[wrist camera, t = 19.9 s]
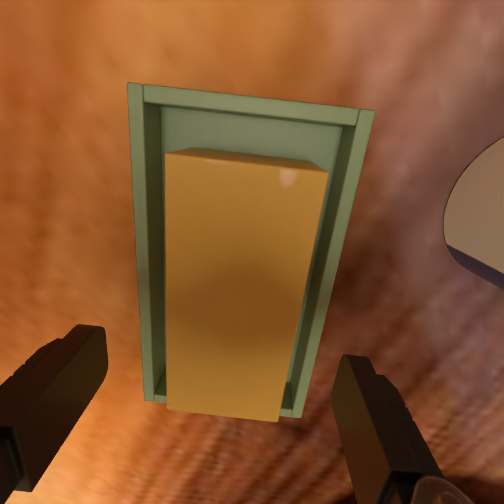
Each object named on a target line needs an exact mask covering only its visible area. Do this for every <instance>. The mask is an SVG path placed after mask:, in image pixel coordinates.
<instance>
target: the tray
mask: <svg viewBox="0 0 504 504" xmlns="http://www.w3.org/2000/svg"><path fill="white" fill-rule="evenodd" d="M127 94H128V113H129V131H130V149H131V168H132V186H133V204H134V223H135V241H136V259H137V278H138V296H139V315H140V333H141V351H142V370H143V388H144V401H151V402H154V401H155V402H159V403H167V386H166V249H165V153H168V152H173V151H178V150H183V149H187V148H192V147H196V148H204V149H213V150H221V151H230V152H238V153H247V154H255V155H264V156H272V157H281V158H289V159H298V160H306V161H311V162H313V163H314V164H316V165H318V166H319V167H321V168H322V169H324V170H326V171H327V172H329V176H328V181H327V186H326V191H325V196H324V201H323V205H322V210H321V215H320V220H319V225H318V230H317V235H316V239H315V244H314V249H313V254H312V259H311V264H310V269H309V273H308V278H307V283H306V288H305V293H304V298H303V302H302V307H301V312H300V317H299V322H298V327H297V332H296V336H295V341H294V346H293V351H292V356H291V361H290V366H289V370H288V375H287V380H286V385H285V390H284V395H283V399H282V404H281V409H280V414H279V416H286V417H295V418H301V416H302V412H303V408H304V404H305V400H306V396H307V391H308V387H309V383H310V379H311V375H312V371H313V367H314V363H315V359H316V354H317V350H318V346H319V342H320V338H321V334H322V330H323V326H324V321H325V317H326V313H327V309H328V305H329V301H330V297H331V293H332V288H333V284H334V280H335V276H336V272H337V268H338V264H339V260H340V256H341V251H342V247H343V243H344V239H345V235H346V231H347V227H348V223H349V218H350V214H351V210H352V206H353V202H354V198H355V194H356V190H357V186H358V181H359V177H360V173H361V169H362V165H363V161H364V157H365V153H366V148H367V144H368V140H369V136H370V132H371V128H372V124H373V120H374V116H375V111H374V110H368V109H358V108H351V107H342V106H333V105H324V104H315V103H307V102H298V101H289V100H280V99H271V98H263V97H254V96H245V95H236V94H227V93H219V92H210V91H201V90H192V89H183V88H175V87H166V86H157V85H148V84H144V85H143V84H140V83H131V82H128V83H127Z"/></svg>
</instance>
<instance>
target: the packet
mask: <svg viewBox="0 0 504 504" xmlns="http://www.w3.org/2000/svg"><path fill="white" fill-rule="evenodd" d="M328 176H329V172H327V171H326V170H324V169H322V168H321V167H319V166H318V165H316V164H314V163H313V162H311V161H306V160H298V159H289V158H281V157H272V156H264V155H255V154H247V153H238V152H230V151H221V150H213V149H204V148H196V147H192V148H187V149H183V150H178V151H173V152H168V153H165V249H166V386H167V410H174V411H183V412H192V413H200V414H209V415H218V416H227V417H236V418H245V419H253V420H262V421H271V422H278V419H279V414H280V409H281V404H282V399H283V395H284V390H285V385H286V380H287V375H288V370H289V366H290V361H291V356H292V351H293V346H294V341H295V336H296V332H297V327H298V322H299V317H300V312H301V307H302V302H303V298H304V293H305V288H306V283H307V278H308V273H309V269H310V264H311V259H312V254H313V249H314V244H315V239H316V235H317V230H318V225H319V220H320V215H321V210H322V205H323V201H324V196H325V191H326V186H327V181H328Z"/></svg>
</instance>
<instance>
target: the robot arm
mask: <svg viewBox="0 0 504 504" xmlns="http://www.w3.org/2000/svg"><path fill="white" fill-rule="evenodd" d="M107 370H108V354H107V344H106V334H105V329H104V328H103V327H101V326H92V325H83V324H78V325H76V326H75V327H74V328H73V329H72V330H71V331H70V332H69V333H68V334H67V335H66V336H65V337H64V338H63V339H60V338H57V339H55V340H53V341H52V342H50V343H48V344H46V345H45V346H43V347H41V348H39V349H38V350H37V351H36V352H35V353H34V354H33V355H32V356H31V357H30V358H29V359H28V360H27V361H26V362H25V364H23V365H22V366H20V367H19V368H18V369H17V370H16V371H15V372H14V375H13V376H10V377H9V378H8V379H7V380H6V381H5V382H4V383H3V384H2V385H1V386H0V504H5V502H6V501H7V499H8V498H9V496H10V495H11V494H12V492H13V491H14V490H16V491H25V492H32V491H33V489H34V488H35V486H36V484H37V483H38V481H39V480H40V478H41V477H42V475H43V474H44V472H45V471H46V469H47V467H48V466H49V464H50V463H51V461H52V460H53V458H54V457H55V455H56V454H57V452H58V451H59V449H60V447H61V446H62V444H63V443H64V441H65V440H66V438H67V437H68V435H69V434H70V432H71V430H72V429H73V427H74V426H75V424H76V423H77V421H78V420H79V418H80V417H81V415H82V414H83V412H84V410H85V409H86V407H87V406H88V404H89V403H90V401H91V400H92V398H93V397H94V395H95V393H96V392H97V390H98V389H99V387H100V386H101V384H102V383H103V381H104V379H105V376H106V374H107ZM332 406H333V411H334V415H335V418H336V422H337V426H338V430H339V434H340V438H341V442H342V446H343V450H344V453H345V457H346V461H347V465H348V469H349V473H350V477H351V481H352V484H353V488H354V492H355V496H356V500H357V504H475V503H474V502H473V501H472V500H471V499H470V498H469V497H468V496H467V495H466V494H465V493H464V492H463V491H462V490H461V489H460V488H458V487H457V486H455V485H454V484H452V483H451V482H449V481H447V480H445V478H444V476H443V475H442V473H441V471H440V469H439V467H438V465H437V463H436V461H435V460H434V458H433V456H432V454H431V452H430V450H429V448H428V446H427V444H426V443H425V441H424V439H423V437H422V435H421V433H420V431H419V429H418V427H417V426H416V424H415V422H414V421H413V420H412V416H411V414H410V412H409V411H408V409H407V408H406V407H405V403H404V401H403V399H402V397H401V395H400V394H399V392H398V390H397V388H396V387H395V386H394V385H393V384H392V383H391V382H390V381H389V380H388V379H387V378H386V377H385V376H384V375H377V374H376V372H375V370H374V368H373V366H372V364H371V362H370V360H369V358H367V357H364V356H355V355H346V354H344V355H343V356H342V358H341V361H340V364H339V368H338V371H337V375H336V378H335V382H334V385H333V389H332Z"/></svg>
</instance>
